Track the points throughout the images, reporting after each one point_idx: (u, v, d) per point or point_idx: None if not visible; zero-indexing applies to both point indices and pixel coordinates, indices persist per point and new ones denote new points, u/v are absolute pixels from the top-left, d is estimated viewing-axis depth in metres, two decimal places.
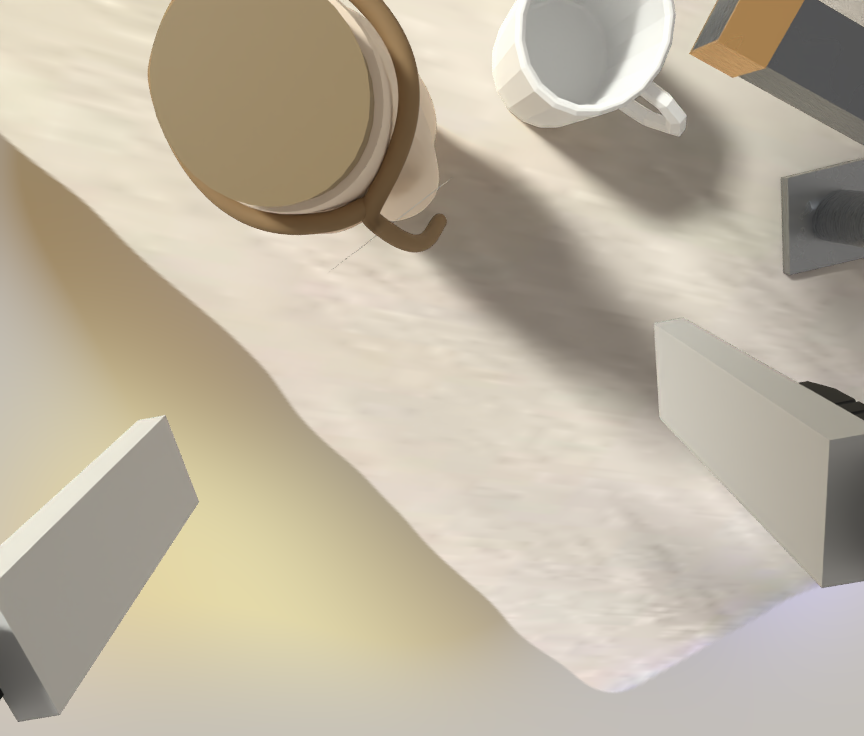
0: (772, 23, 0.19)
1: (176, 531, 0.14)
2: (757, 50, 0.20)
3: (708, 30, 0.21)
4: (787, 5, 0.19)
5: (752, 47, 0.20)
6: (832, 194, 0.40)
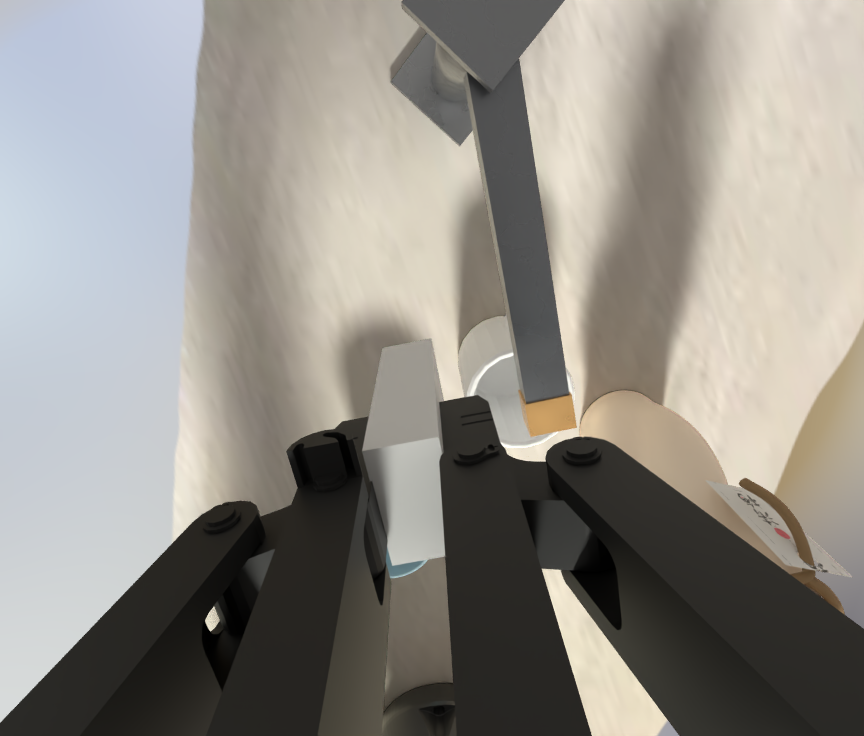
0: (550, 409, 0.31)
1: None
2: (567, 405, 0.31)
3: None
4: (539, 409, 0.31)
5: (567, 409, 0.31)
6: (447, 100, 0.43)
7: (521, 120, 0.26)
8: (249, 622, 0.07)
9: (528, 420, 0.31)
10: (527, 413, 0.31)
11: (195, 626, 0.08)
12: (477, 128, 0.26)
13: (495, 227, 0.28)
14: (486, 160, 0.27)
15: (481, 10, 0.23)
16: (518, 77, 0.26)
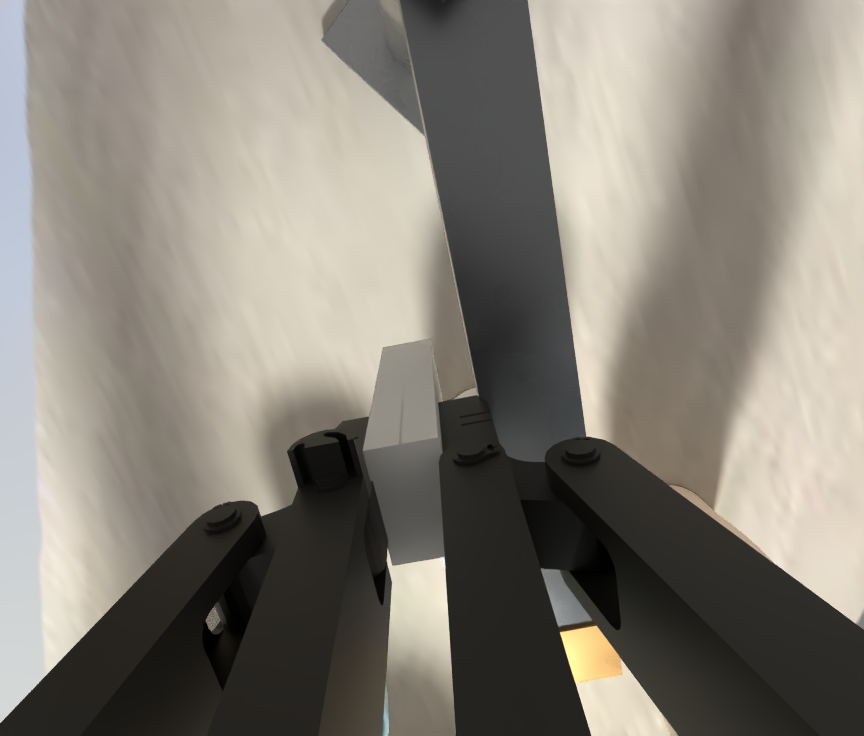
0: (574, 645, 0.16)
1: None
2: (605, 639, 0.16)
3: None
4: None
5: (606, 646, 0.16)
6: (409, 68, 0.28)
7: (521, 76, 0.11)
8: (250, 622, 0.07)
9: None
10: None
11: (195, 626, 0.08)
12: (420, 94, 0.11)
13: (464, 312, 0.13)
14: (442, 168, 0.12)
15: None
16: None
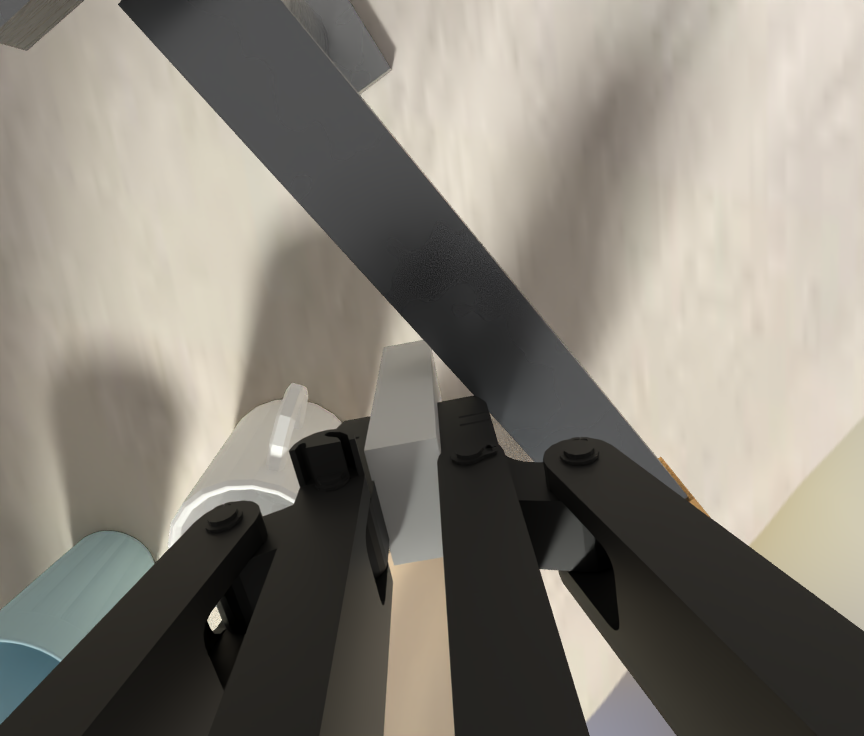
0: None
1: None
2: None
3: None
4: None
5: None
6: None
7: (292, 39, 0.11)
8: (251, 622, 0.07)
9: None
10: None
11: (197, 625, 0.08)
12: (216, 110, 0.11)
13: (372, 280, 0.13)
14: (275, 163, 0.12)
15: None
16: None
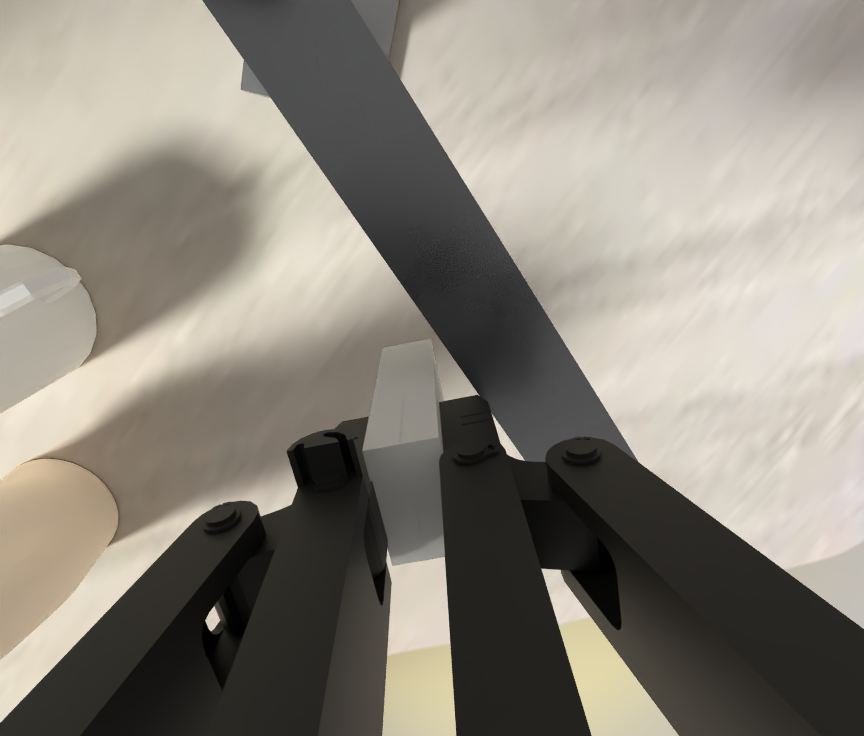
0: None
1: None
2: None
3: None
4: None
5: None
6: None
7: (342, 17, 0.11)
8: (249, 622, 0.07)
9: None
10: None
11: (195, 625, 0.08)
12: (258, 77, 0.12)
13: (390, 265, 0.13)
14: (309, 137, 0.12)
15: None
16: None
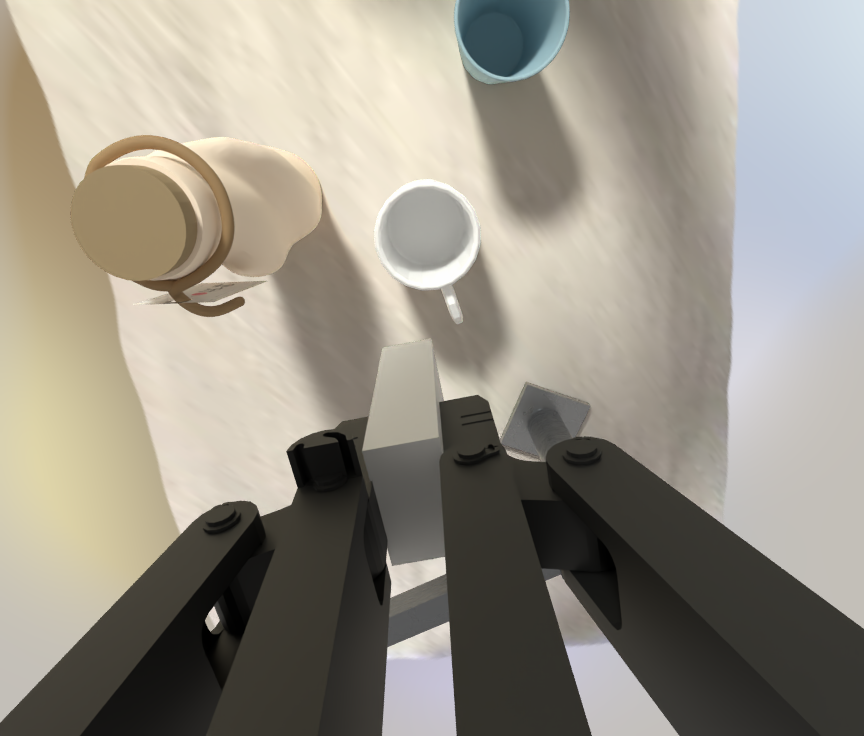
0: None
1: None
2: None
3: None
4: None
5: None
6: (547, 410, 0.57)
7: (544, 577, 0.41)
8: (249, 622, 0.07)
9: None
10: None
11: (194, 625, 0.08)
12: None
13: None
14: None
15: None
16: None
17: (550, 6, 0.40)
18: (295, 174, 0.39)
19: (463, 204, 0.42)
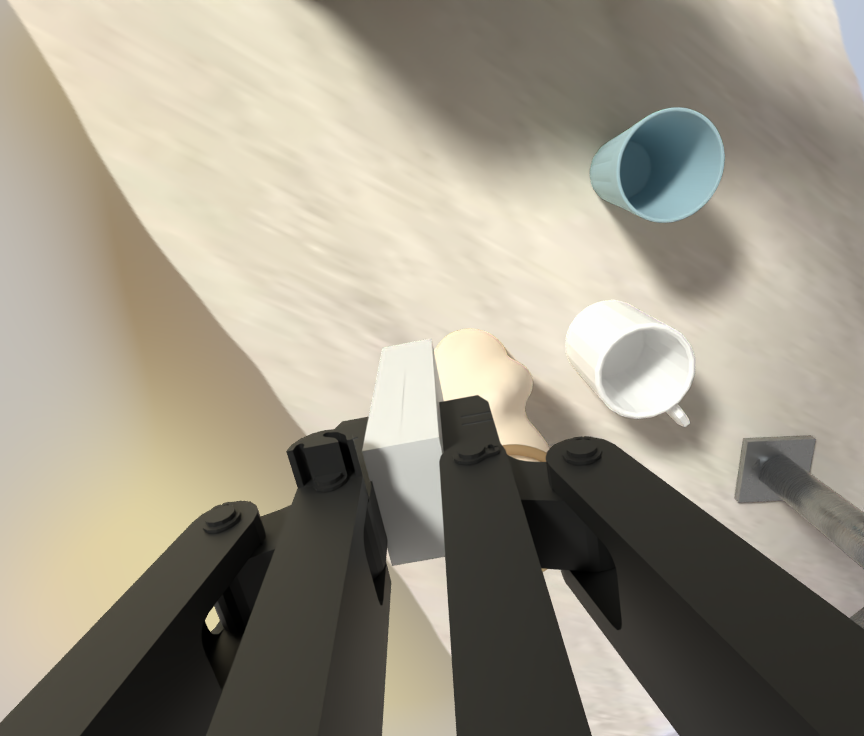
0: None
1: None
2: None
3: None
4: None
5: None
6: (775, 458, 0.58)
7: None
8: (249, 622, 0.07)
9: None
10: None
11: (194, 626, 0.08)
12: None
13: None
14: None
15: None
16: None
17: (691, 135, 0.42)
18: (527, 374, 0.42)
19: (670, 332, 0.44)
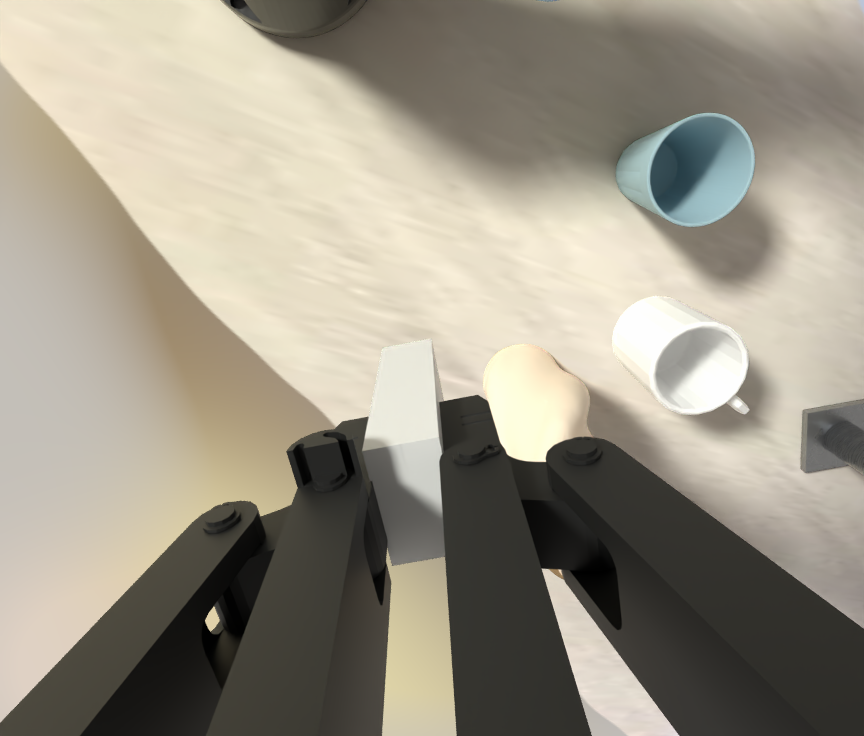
0: None
1: None
2: None
3: None
4: None
5: None
6: (837, 425, 0.58)
7: None
8: (249, 622, 0.07)
9: None
10: None
11: (194, 625, 0.08)
12: None
13: None
14: None
15: None
16: None
17: (717, 134, 0.42)
18: (584, 392, 0.44)
19: (719, 329, 0.45)
